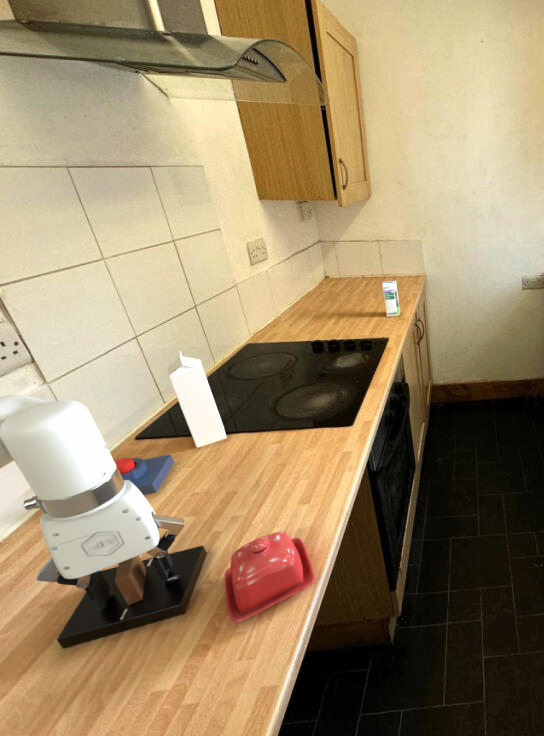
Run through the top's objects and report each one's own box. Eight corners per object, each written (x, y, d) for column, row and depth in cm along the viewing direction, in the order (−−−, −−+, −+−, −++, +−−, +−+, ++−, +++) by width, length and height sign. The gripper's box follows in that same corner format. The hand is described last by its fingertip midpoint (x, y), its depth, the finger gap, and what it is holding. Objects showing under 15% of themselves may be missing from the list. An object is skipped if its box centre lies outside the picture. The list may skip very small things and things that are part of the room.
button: (108, 477, 82) (105, 470, 81) (117, 466, 85) (114, 459, 84) (130, 473, 83) (127, 466, 82) (138, 462, 86) (135, 455, 86)
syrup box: (386, 316, 180) (381, 284, 174) (386, 312, 185) (382, 280, 179) (400, 315, 181) (395, 283, 175) (400, 311, 187) (396, 279, 181)
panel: (62, 649, 56) (55, 639, 55) (104, 579, 65) (98, 570, 65) (185, 614, 60) (180, 604, 59) (207, 553, 70) (203, 544, 69)
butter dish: (302, 539, 72) (291, 501, 69) (319, 588, 64) (307, 548, 60) (225, 574, 66) (208, 535, 63) (232, 634, 58) (213, 592, 54)
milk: (196, 448, 96) (162, 363, 87) (195, 436, 101) (161, 353, 92) (227, 438, 100) (197, 355, 91) (224, 427, 104) (195, 346, 95)
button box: (80, 508, 79) (71, 492, 78) (107, 475, 88) (99, 460, 86) (156, 492, 83) (148, 476, 81) (174, 462, 92) (168, 447, 90)
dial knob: (142, 599, 60) (128, 574, 58) (128, 605, 59) (113, 580, 57) (146, 569, 65) (133, 545, 63) (133, 575, 64) (120, 550, 62)
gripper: (-26, 541, 47) (48, 640, 54) (165, 480, 56) (206, 573, 63) (-2, 502, 53) (62, 596, 60) (168, 452, 62) (206, 540, 69)
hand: (136, 583), depth 62 cm, fingers open, 6 cm apart
